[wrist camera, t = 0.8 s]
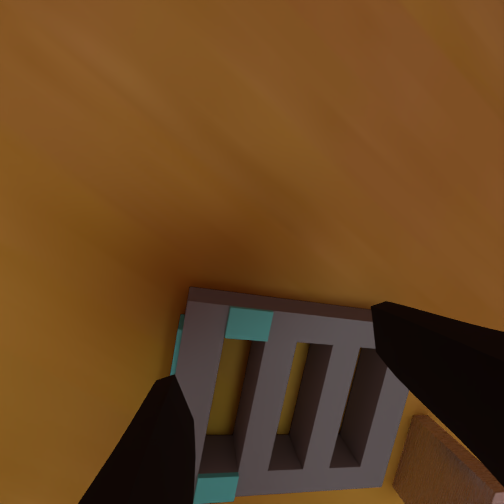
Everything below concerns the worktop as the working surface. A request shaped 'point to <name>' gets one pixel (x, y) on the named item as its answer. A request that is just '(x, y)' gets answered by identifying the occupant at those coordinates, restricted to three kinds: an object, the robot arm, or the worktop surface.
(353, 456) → the slot rack
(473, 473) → the grey slab
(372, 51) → the worktop surface
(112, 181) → the worktop surface
